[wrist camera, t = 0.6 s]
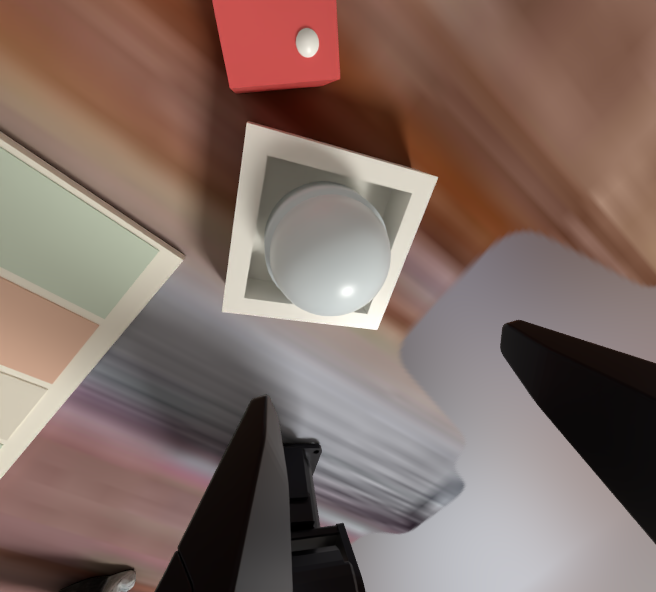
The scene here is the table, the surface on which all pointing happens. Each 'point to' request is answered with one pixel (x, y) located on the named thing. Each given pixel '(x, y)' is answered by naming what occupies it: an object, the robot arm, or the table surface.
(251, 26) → the red die
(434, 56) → the table surface
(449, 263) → the table surface
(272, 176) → the base
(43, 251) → the track board
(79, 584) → the figurine
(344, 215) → the dome
